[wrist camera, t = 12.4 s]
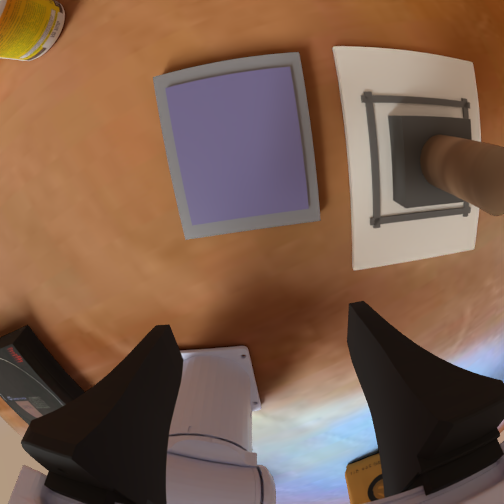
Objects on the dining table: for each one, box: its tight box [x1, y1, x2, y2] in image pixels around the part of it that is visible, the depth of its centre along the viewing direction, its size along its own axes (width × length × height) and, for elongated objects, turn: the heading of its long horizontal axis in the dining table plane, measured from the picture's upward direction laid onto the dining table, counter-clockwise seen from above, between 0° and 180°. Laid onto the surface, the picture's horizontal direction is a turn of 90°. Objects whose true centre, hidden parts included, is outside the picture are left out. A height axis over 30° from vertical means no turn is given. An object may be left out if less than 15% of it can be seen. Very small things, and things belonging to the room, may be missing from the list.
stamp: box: [388, 116, 504, 216], centre depth 14 cm, size 6×6×8 cm
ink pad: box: [153, 52, 321, 240], centre depth 18 cm, size 11×9×2 cm
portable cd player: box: [0, 325, 85, 425], centre depth 28 cm, size 16×17×4 cm
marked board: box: [332, 46, 481, 271], centre depth 18 cm, size 16×12×1 cm
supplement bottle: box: [0, 0, 65, 61], centre depth 9 cm, size 6×6×10 cm
